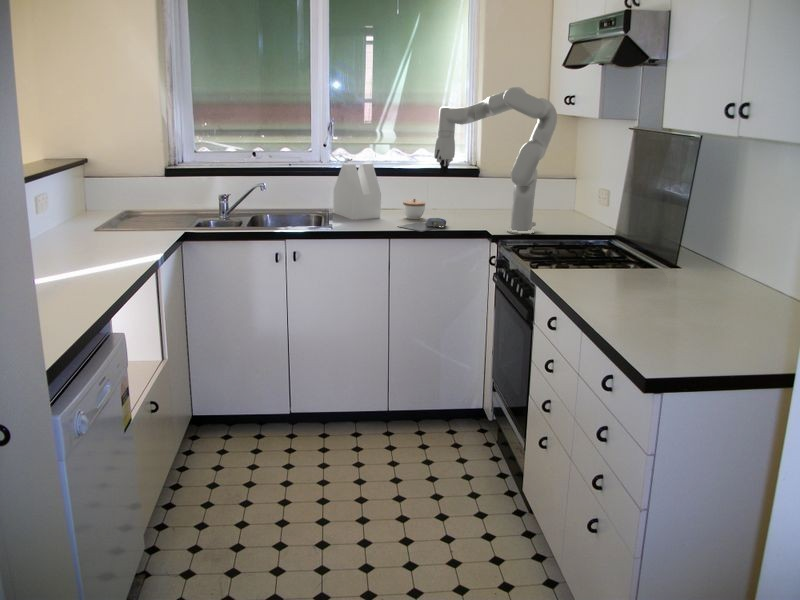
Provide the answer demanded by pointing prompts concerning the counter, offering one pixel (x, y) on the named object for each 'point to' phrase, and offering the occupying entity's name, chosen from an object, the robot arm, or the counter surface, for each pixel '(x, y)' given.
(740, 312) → the counter surface
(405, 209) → the lidded jar
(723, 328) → the counter surface
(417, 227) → the slate board
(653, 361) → the counter surface
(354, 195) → the grey notched block
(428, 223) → the blue clover wallet
